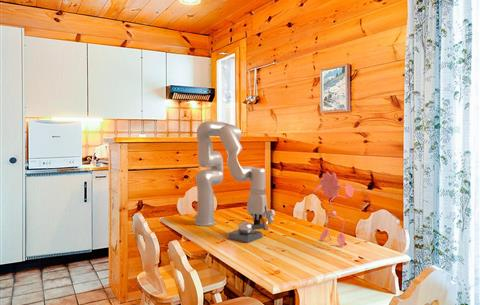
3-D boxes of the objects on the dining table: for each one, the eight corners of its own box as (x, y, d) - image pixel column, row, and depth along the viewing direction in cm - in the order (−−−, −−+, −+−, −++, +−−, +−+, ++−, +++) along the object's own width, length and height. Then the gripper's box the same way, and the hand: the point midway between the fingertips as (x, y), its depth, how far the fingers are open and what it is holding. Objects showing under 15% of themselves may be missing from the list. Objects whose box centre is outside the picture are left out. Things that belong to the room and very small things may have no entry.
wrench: (256, 218, 238) (275, 224, 210) (254, 218, 237) (272, 224, 209) (256, 206, 238) (275, 210, 210) (253, 206, 238) (272, 210, 210)
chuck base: (228, 238, 181) (228, 232, 180) (243, 233, 190) (243, 228, 190) (247, 243, 173) (247, 236, 173) (261, 237, 183) (261, 231, 183)
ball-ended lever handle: (241, 234, 177) (241, 225, 177) (236, 230, 183) (236, 222, 183) (271, 231, 183) (271, 222, 183) (264, 227, 190) (264, 219, 189)
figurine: (319, 235, 187) (320, 168, 185) (360, 249, 166) (361, 173, 164) (297, 240, 179) (297, 170, 177) (337, 255, 158) (338, 176, 155)
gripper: (242, 190, 188) (241, 225, 189) (265, 194, 179) (264, 230, 180) (250, 189, 194) (249, 222, 195) (273, 192, 184) (272, 227, 185)
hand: (256, 226), depth 187 cm, fingers closed
